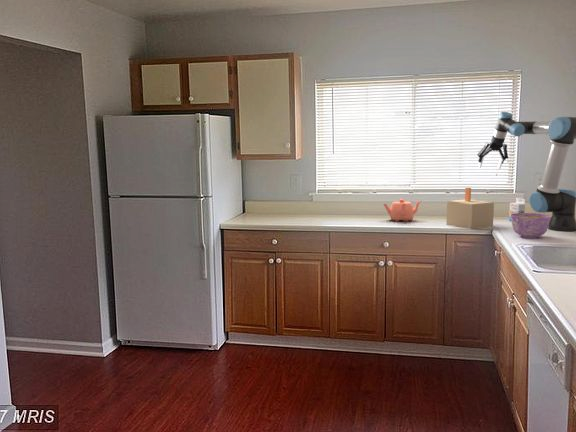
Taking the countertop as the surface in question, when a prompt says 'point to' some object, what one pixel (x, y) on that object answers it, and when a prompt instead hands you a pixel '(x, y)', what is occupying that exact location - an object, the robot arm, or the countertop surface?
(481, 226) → the carton
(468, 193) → the flap
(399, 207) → the teapot
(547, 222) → the purple speckled bowl
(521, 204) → the ink box
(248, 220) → the countertop surface
